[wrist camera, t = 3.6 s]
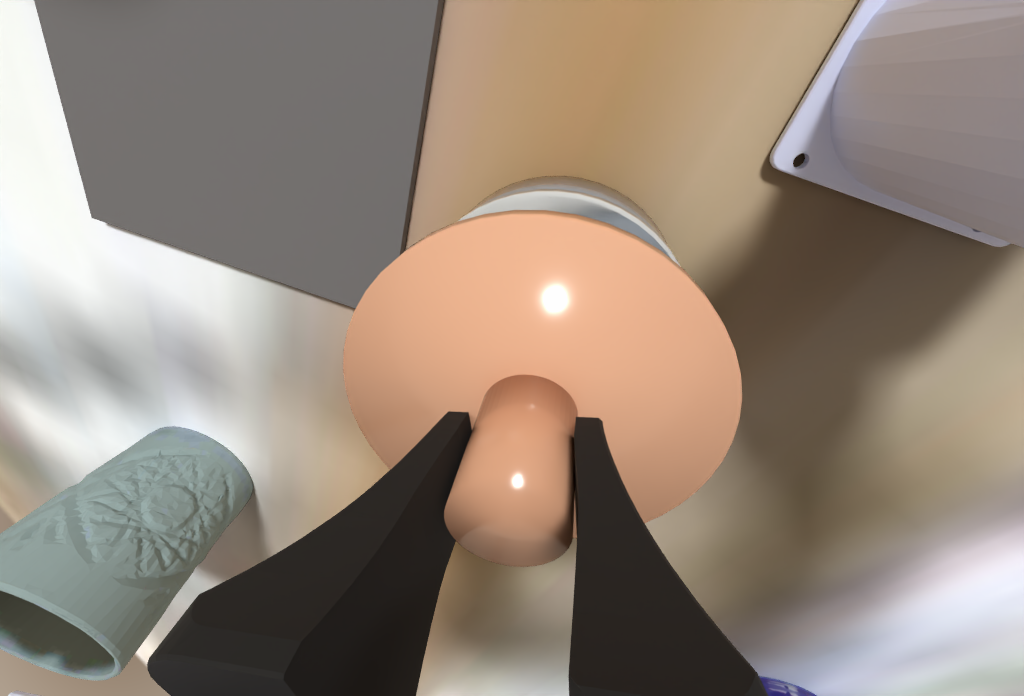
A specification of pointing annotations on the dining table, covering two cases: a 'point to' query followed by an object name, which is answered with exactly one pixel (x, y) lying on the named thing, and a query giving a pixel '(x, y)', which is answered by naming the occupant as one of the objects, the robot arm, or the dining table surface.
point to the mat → (251, 127)
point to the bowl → (575, 205)
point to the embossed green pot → (115, 552)
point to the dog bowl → (783, 688)
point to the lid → (543, 371)
